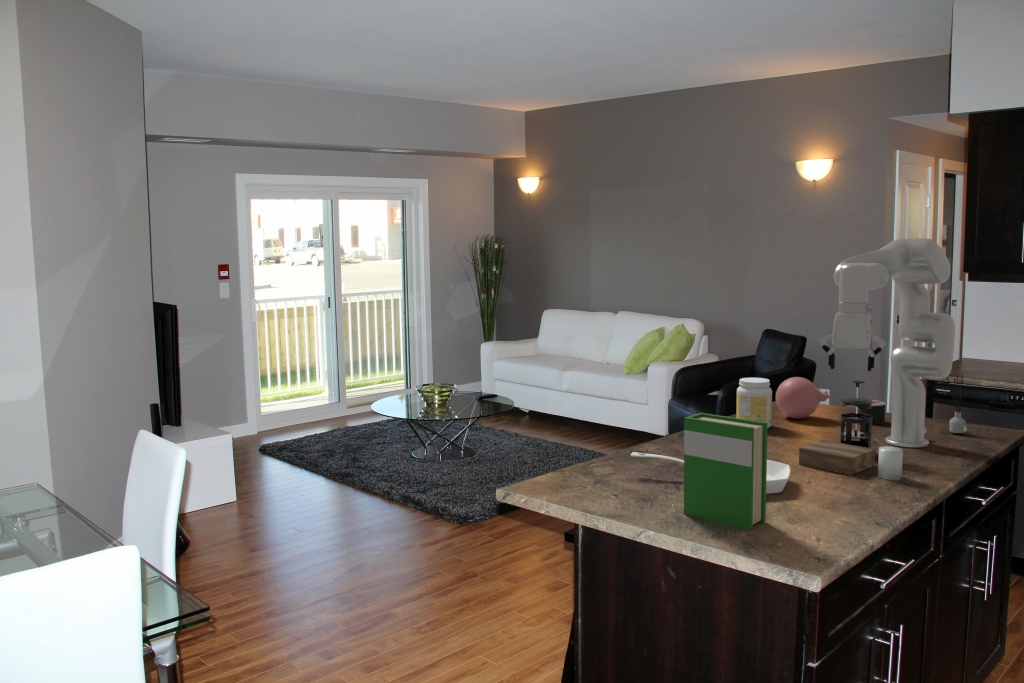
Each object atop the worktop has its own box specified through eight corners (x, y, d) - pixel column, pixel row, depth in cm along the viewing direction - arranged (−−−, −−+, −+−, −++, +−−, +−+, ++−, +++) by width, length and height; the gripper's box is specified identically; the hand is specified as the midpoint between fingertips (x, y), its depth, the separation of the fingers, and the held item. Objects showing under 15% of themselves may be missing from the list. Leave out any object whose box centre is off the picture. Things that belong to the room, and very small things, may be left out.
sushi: (889, 423, 288) (890, 401, 287) (868, 425, 286) (869, 403, 285) (874, 419, 296) (875, 397, 295) (854, 420, 294) (855, 399, 293)
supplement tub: (747, 421, 296) (748, 375, 294) (778, 426, 287) (779, 379, 285) (729, 426, 288) (729, 380, 286) (760, 432, 279) (760, 384, 277)
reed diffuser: (960, 437, 266) (963, 377, 264) (938, 434, 271) (940, 375, 269) (970, 431, 273) (973, 373, 271) (948, 428, 278) (951, 371, 276)
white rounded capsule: (883, 472, 228) (884, 445, 227) (905, 477, 223) (906, 449, 222) (873, 477, 224) (874, 449, 223) (895, 481, 220) (896, 453, 219)
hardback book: (765, 522, 190) (767, 422, 187) (750, 530, 185) (752, 428, 182) (699, 506, 202) (700, 412, 199) (683, 514, 197) (684, 417, 194)
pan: (788, 503, 204) (789, 478, 203) (621, 488, 219) (621, 465, 218) (791, 473, 229) (791, 451, 229) (641, 462, 244) (640, 441, 244)
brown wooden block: (822, 455, 247) (823, 439, 246) (874, 465, 235) (875, 449, 234) (798, 464, 238) (799, 448, 237) (851, 475, 226) (851, 458, 225)
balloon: (821, 426, 286) (822, 383, 284) (767, 418, 299) (768, 378, 298) (838, 419, 297) (839, 377, 295) (786, 412, 310) (787, 372, 309)
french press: (861, 460, 241) (863, 384, 238) (831, 454, 248) (833, 381, 245) (880, 453, 248) (883, 379, 246) (851, 448, 256) (853, 376, 253)
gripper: (888, 308, 223) (885, 369, 225) (822, 307, 231) (820, 366, 233) (886, 310, 216) (883, 373, 218) (818, 308, 225) (816, 369, 227)
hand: (850, 369), depth 226 cm, fingers open, 9 cm apart
